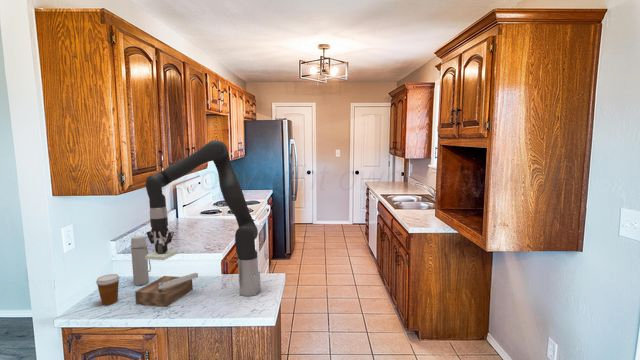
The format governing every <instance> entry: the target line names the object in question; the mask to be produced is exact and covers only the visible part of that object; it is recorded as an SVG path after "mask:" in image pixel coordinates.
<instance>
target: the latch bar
mask: <svg viewBox="0 0 640 360" xmlns="http://www.w3.org/2000/svg"><path fill="white" fill-rule="evenodd" d="M179 277H180V278H177V279H173V280H170V281H167V282H159V283H157V289H162V288H165V287H168V286H172V285H175V284H178V283H181V282H184V281H187V280H191V279H192V280H193V279H196V278H199V273H197V272H193V273H190V274H187V275H183V276H179Z"/></svg>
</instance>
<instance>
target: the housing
mask: <svg viewBox="0 0 640 360" xmlns="http://www.w3.org/2000/svg"><path fill="white" fill-rule="evenodd" d="M180 277H181V276H169V275H164V276H162V277H160V278H157V279H156V280H154V281H152V282H151V283H149V284H148V283H147V284H145V285H144V286H143V287H141V288H140V289H137V290H135V292H134V295H135V305H139V304H141V306H152V307H153V306H154V307H161V308H162V307H163V308H168V307H169V306H170V305H172V304H173V303H175V302H176V301H178V300H179V299H181V298H182V297H184V296H185V295H187V294H188V293H189V292H192V291H193V290H194V289H193V288H194V287H193V279H191V280H187V281H184V282H181V283H178V284H175V285H172V286H168V287H165V288H162V289H157V283H159V282H167V281H170V280H173V279H177V278H180Z"/></svg>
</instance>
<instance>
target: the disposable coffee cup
mask: <svg viewBox="0 0 640 360" xmlns="http://www.w3.org/2000/svg"><path fill="white" fill-rule="evenodd" d="M119 281H120V276H119V274H116V273H110V274H109V273H108V274H105V275H101V276H99V277H97V279H96V281H95V283H96V285H97V289H98V292H99V297H100V301H101V305H102V306H110V305H114V304H115V303H116V304H117V302H119V300H118V299H119V283H120V282H119Z"/></svg>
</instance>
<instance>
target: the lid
mask: <svg viewBox="0 0 640 360" xmlns="http://www.w3.org/2000/svg"><path fill="white" fill-rule="evenodd" d="M157 248H158V253H156V251H153V252H152V253H148V254H147V255H146V256H145V259H148V260H151V261H152V260H156V261H157V260H158V261H165V260H167V259H169V258H171V257H172V258H173V256H175V255H177V254H178V253H179V252H178V250H173V249H172V250H171V249H170V250H169V249H168V251H167V252H166V253H163V249H162V242H159V244H157Z"/></svg>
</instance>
